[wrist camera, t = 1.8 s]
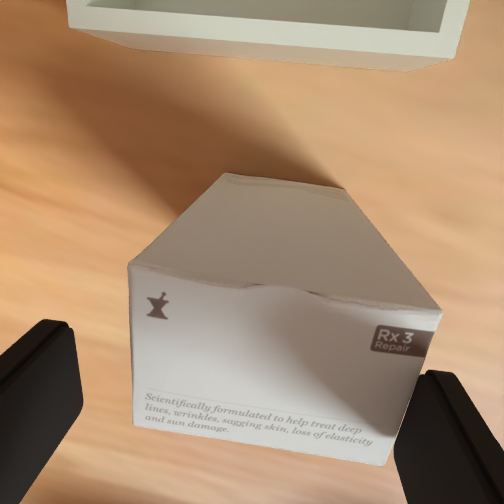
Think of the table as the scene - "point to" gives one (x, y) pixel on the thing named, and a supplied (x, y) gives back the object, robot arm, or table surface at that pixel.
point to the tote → (283, 29)
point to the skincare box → (277, 323)
